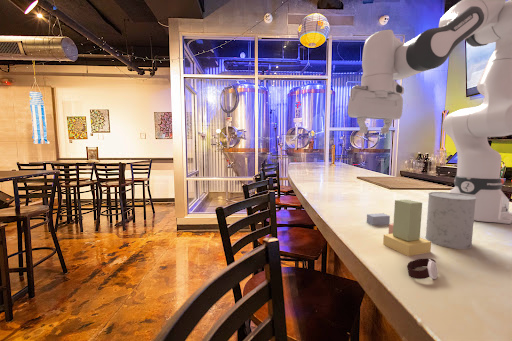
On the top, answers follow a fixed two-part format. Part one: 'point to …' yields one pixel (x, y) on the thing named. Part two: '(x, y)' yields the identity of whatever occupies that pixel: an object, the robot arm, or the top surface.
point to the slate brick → (378, 219)
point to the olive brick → (407, 220)
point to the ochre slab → (407, 245)
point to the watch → (422, 274)
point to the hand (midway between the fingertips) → (374, 133)
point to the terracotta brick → (390, 228)
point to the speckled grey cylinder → (450, 219)
